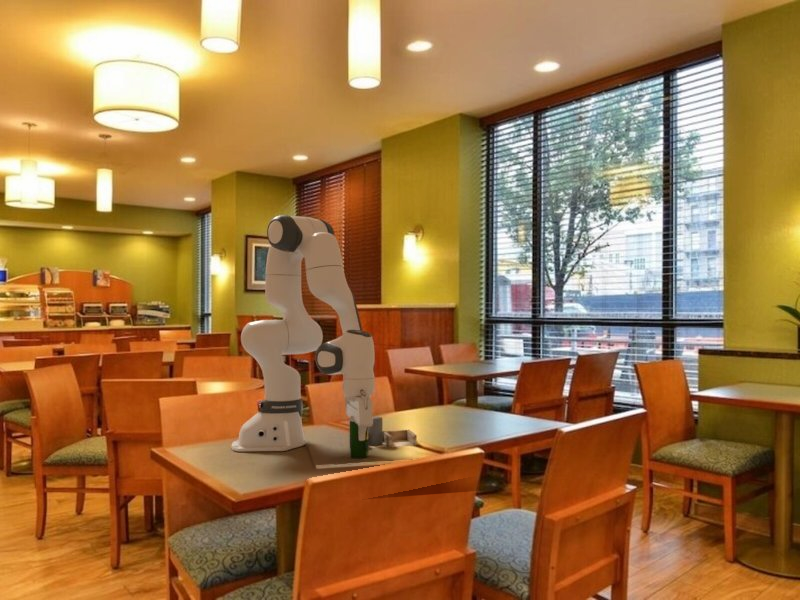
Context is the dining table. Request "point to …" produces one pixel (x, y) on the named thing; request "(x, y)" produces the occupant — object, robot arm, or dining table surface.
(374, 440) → the grey upright block
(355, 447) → the beer can
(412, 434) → the comb rack
